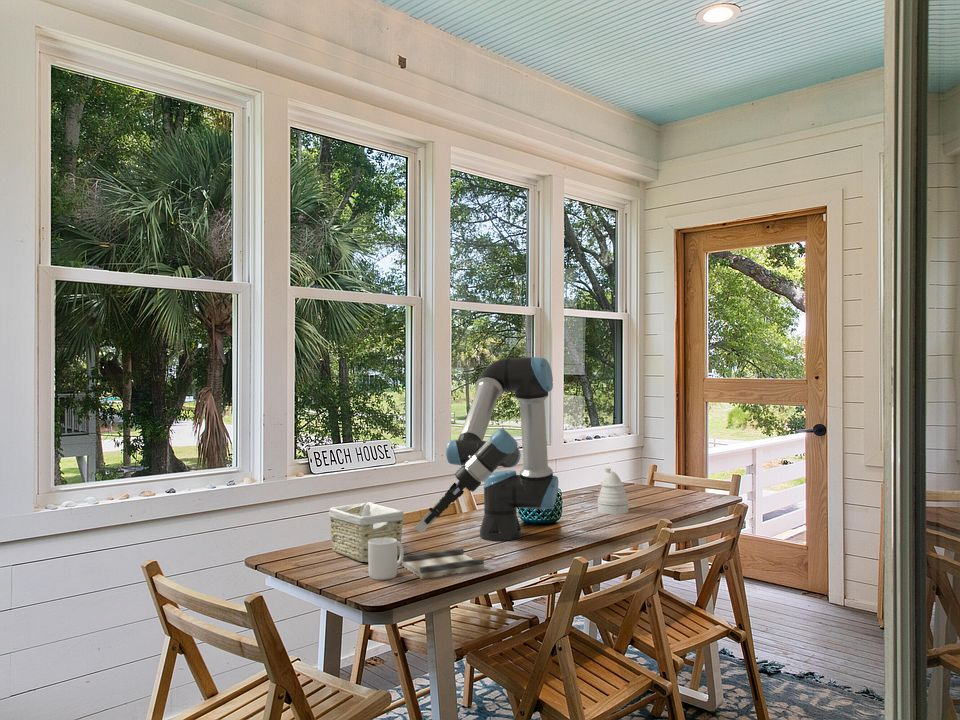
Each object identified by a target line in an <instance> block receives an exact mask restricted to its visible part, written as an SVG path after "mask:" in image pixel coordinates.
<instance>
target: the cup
mask: <svg viewBox="0 0 960 720" xmlns="http://www.w3.org/2000/svg"><path fill="white" fill-rule="evenodd" d="M397 546H399V548H400V555H399V558H398V556H397ZM404 551H405V550H404V546H403V544H402V541H401V542H397V539H394V538H375V539H371V540H369V541H368V562H367V563H368V576H369V578H370V579H372V580H375V581H376V580H377V581H384V580H385V581H386V580H391V579H394V578H396V577H397V575H398V566H400V565H401V564H402V561H403V556H405V555H404Z"/></svg>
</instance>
